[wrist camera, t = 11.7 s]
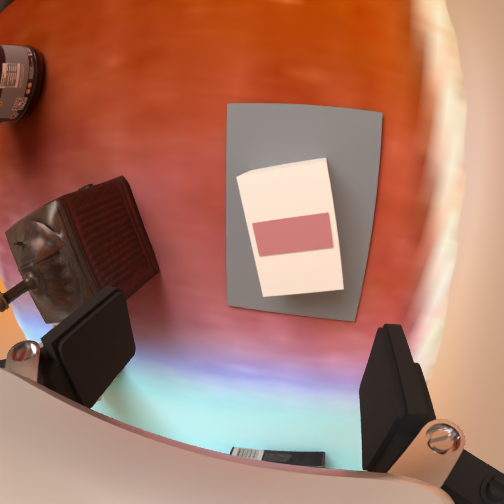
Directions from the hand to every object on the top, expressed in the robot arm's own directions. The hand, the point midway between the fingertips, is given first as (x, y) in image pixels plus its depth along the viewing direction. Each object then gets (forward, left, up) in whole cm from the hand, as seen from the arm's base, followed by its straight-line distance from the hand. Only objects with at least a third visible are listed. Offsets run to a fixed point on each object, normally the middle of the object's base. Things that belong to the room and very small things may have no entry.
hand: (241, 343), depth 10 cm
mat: (0, 0, -16) cm, 16 cm away
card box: (0, 0, -16) cm, 16 cm away
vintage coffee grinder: (-4, +22, -16) cm, 27 cm away
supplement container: (+16, +34, -16) cm, 41 cm away
